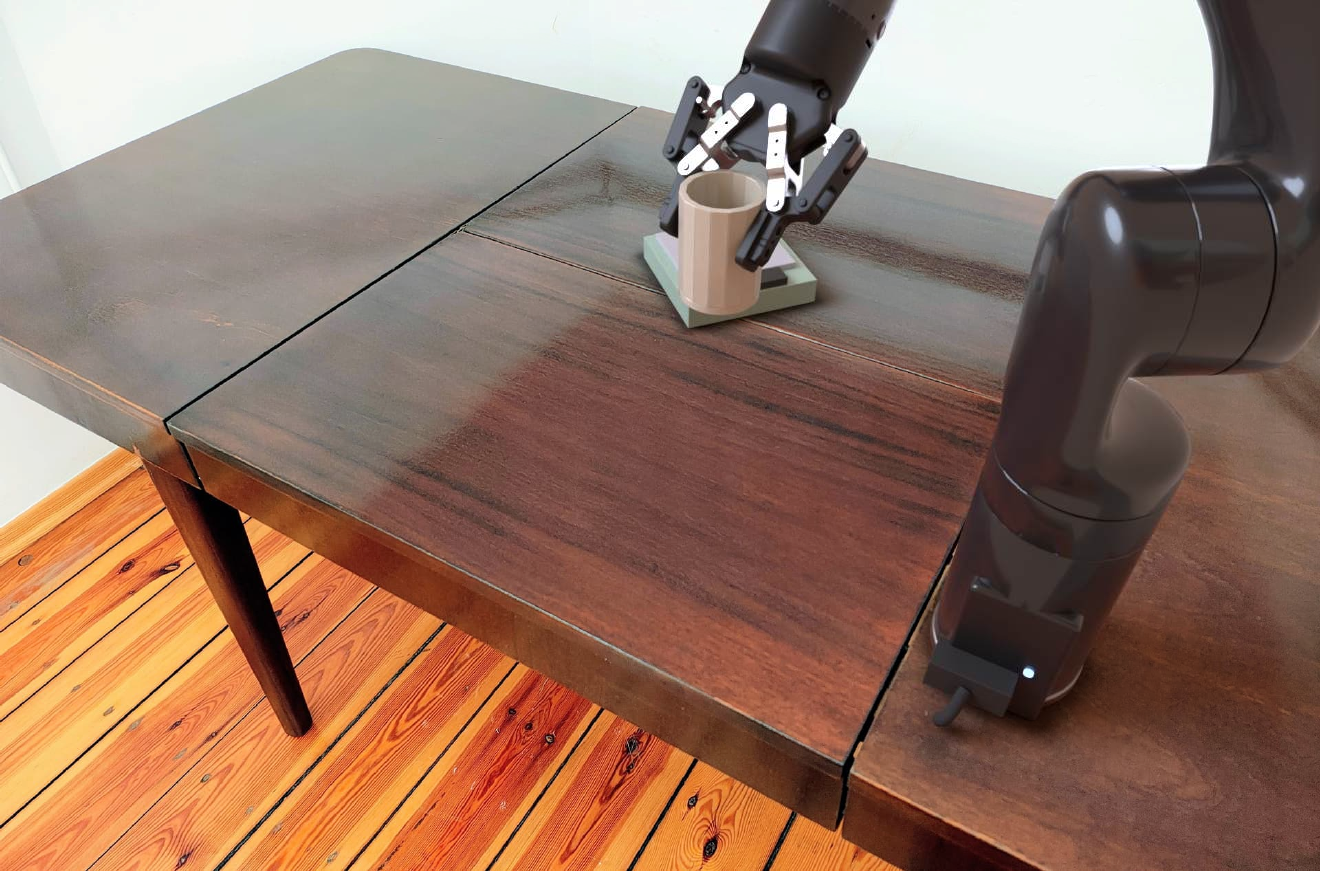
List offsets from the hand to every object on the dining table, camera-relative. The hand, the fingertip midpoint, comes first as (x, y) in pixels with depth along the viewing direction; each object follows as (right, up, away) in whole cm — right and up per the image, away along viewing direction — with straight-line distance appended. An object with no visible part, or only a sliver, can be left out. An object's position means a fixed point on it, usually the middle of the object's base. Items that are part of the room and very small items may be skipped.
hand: (706, 249), depth 63 cm
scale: (+4, +3, +30) cm, 30 cm away
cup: (+1, -2, +4) cm, 5 cm away
